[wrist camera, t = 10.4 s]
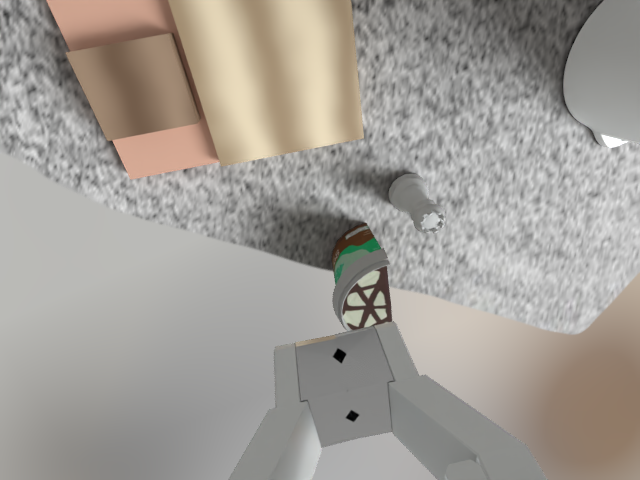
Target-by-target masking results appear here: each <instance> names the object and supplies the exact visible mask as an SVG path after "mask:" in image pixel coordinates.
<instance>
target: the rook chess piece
mask: <svg viewBox="0 0 640 480" xmlns="http://www.w3.org/2000/svg"><path fill="white" fill-rule="evenodd" d="M428 196H429V190H428V187H427V184H426V183H425V181H424V180H423V179H422V178H421V177H420V176H419V175H416V174H405V175H403V176H400V177H398V178H397V179H396V180H395V181H394V182H393V183H392V185H391V187H390V189H389V199H390V202H391V204H393V206H394V207H395V208H396V209H398V210H399V211H402V212H405V213H410V214H411V218H412V220H413V221H414V222H413V223H414V226H415V228H416V229H417V230H418V231H420V232H424V233H427V234H429V233H430V232H433V233H434V234H435V233H437V232H438V230H437V229H438V228H439V227H441V228H443V227H444V225H445V224H444V223H443V221H444V220H446V219H445V211H444V209H443V208H442V207H441V206H440V205H437V204H435V203H434V202H433V201H432V200H429V198H428Z"/></svg>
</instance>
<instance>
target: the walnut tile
mask: <svg viewBox="0 0 640 480" xmlns="http://www.w3.org/2000/svg"><path fill="white" fill-rule="evenodd" d="M66 55H67V58H68V60H69V62H70V64H71V66H72V68H73V70H74V72H75V74H76V76H77V78H78V81H79V83H80V85H81V87H82V89H83V91H84V93H85V95H86V97H87V99H88V101H89V104H90V106H91V108H92V110H93V112H94V114H95V116H96V118H97V120H98V122H99V124H100V126H101V129H102V131H103V133H104V135H105V137H106V139H107V141H111V140H116V139H121V138H126V137H131V136H137V135H142V134H147V133H152V132H157V131H162V130H167V129H173V128H178V127H183V126H188V125H193V124H198V123H199V121H200V119H201V116H200V113H199V110H198V107H197V104H196V101H195V98H194V95H193V92H192V89H191V86H190V83H189V79H188V76H187V73H186V70H185V67H184V64H183V61H182V58H181V55H180V52H179V49H178V46H177V43H176V40H175V37H174V34H173V33H168V34H162V35H157V36H152V37H146V38H141V39H136V40H130V41H125V42H120V43H114V44H109V45H104V46H98V47H93V48H87V49H82V50H77V51H71V52H66Z"/></svg>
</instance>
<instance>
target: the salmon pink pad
mask: <svg viewBox="0 0 640 480" xmlns="http://www.w3.org/2000/svg"><path fill="white" fill-rule="evenodd" d="M46 1H47V3H48V5H49V7H50V9H51V11H52V14H53V16H54V18H55V20H56V22H57V24H58V26H59V28H60V31H61V33H62V35H63V37H64V39H65V41H66V43H67V45H68V48H69V50H70V52H71V51H77V50H82V49H87V48H93V47H98V46H104V45H109V44H114V43H120V42H125V41H130V40H136V39H141V38H146V37H152V36H157V35H162V34H168V33H173V34H174V37H175V40H176V43H177V46H178V49H179V52H180V55H181V58H182V61H183V64H184V67H185V70H186V73H187V76H188V79H189V83H190V86H191V89H192V92H193V95H194V98H195V101H196V104H197V107H198V110H199V113H200V116H201V119H200V121H199V123H198V124H193V125H188V126H183V127H178V128H173V129H167V130H162V131H157V132H152V133H147V134H142V135H137V136H131V137H126V138H121V139H116V140H112V141H113V143H114V145H115V147H116V150H117V152H118V154H119V156H120V158H121V160H122V162H123V164H124V167H125V169H126V171H127V173H128V175H129V177H130V179H136V178H141V177H146V176H151V175H156V174H161V173H166V172H171V171H176V170H181V169H186V168H191V167H196V166H201V165H206V164H212V163H217V162H220V161H219V158H218V155H217V152H216V149H215V145H214V142H213V139H212V136H211V133H210V130H209V127H208V123H207V120H206V117H205V114H204V111H203V108H202V105H201V102H200V98H199V95H198V92H197V89H196V86H195V83H194V80H193V77H192V73H191V70H190V67H189V64H188V61H187V58H186V55H185V52H184V48H183V45H182V42H181V39H180V36H179V33H178V30H177V26H176V23H175V20H174V17H173V14H172V11H171V8H170V5H169V1H168V0H46Z"/></svg>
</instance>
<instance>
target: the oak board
mask: <svg viewBox="0 0 640 480" xmlns="http://www.w3.org/2000/svg"><path fill="white" fill-rule="evenodd" d="M168 1H169V5H170V8H171V11H172V14H173V17H174V20H175V23H176V26H177V30H178V33H179V36H180V39H181V42H182V45H183V48H184V52H185V55H186V58H187V61H188V64H189V67H190V70H191V73H192V77H193V80H194V83H195V86H196V89H197V92H198V95H199V98H200V102H201V105H202V108H203V111H204V114H205V117H206V120H207V123H208V127H209V130H210V133H211V136H212V139H213V142H214V145H215V149H216V152H217V155H218V158H219V161H220V164H221V166H226V165H231V164H236V163H241V162H247V161H252V160H257V159H262V158H267V157H272V156H277V155H282V154H287V153H292V152H297V151H302V150H307V149H312V148H317V147H322V146H327V145H332V144H337V143H342V142H347V141H352V140H357V139H363V138H364V135H363V124H362V113H361V103H360V92H359V81H358V70H357V60H356V49H355V38H354V27H353V16H352V6H351V0H168Z"/></svg>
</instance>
